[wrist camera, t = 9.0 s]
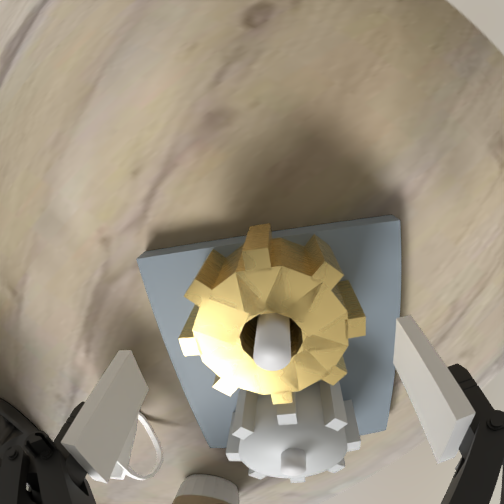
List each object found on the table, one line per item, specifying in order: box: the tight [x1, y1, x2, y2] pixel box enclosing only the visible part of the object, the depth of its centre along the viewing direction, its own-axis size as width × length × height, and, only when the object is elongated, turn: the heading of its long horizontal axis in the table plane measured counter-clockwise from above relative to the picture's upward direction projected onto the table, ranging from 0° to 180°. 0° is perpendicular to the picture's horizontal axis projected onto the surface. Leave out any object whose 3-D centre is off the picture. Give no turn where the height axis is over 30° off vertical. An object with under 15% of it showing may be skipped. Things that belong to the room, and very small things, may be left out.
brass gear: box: [178, 223, 366, 404], centre depth 18 cm, size 10×10×4 cm
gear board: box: [137, 215, 401, 483], centre depth 20 cm, size 17×20×8 cm
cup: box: [110, 410, 163, 480], centre depth 23 cm, size 7×10×8 cm
